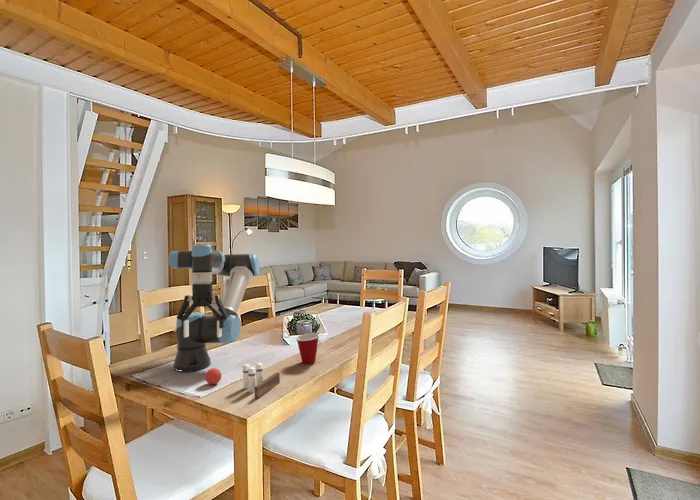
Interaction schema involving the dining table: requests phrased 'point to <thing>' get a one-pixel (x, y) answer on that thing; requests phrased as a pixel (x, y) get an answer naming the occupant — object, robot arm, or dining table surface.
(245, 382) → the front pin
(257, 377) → the pin
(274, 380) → the stopper wall
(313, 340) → the plastic cup
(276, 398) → the dining table surface
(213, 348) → the dining table surface
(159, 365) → the dining table surface
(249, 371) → the pin
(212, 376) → the ball
